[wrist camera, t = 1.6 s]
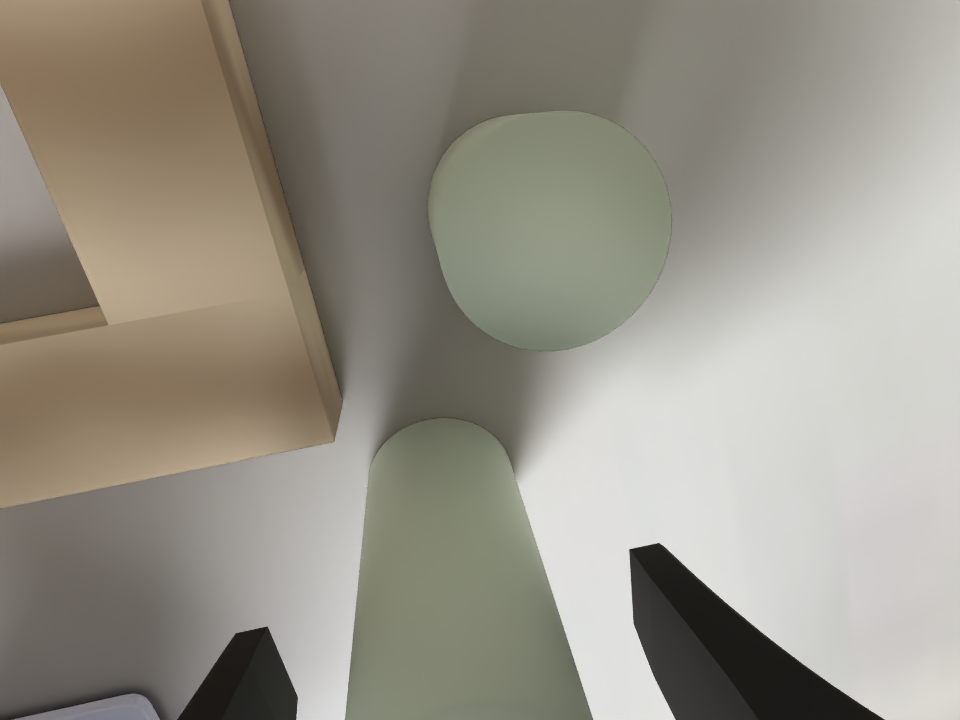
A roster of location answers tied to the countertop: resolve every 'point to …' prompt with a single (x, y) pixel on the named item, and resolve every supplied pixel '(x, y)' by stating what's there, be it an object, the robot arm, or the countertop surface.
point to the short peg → (549, 227)
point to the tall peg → (454, 589)
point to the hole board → (154, 256)
